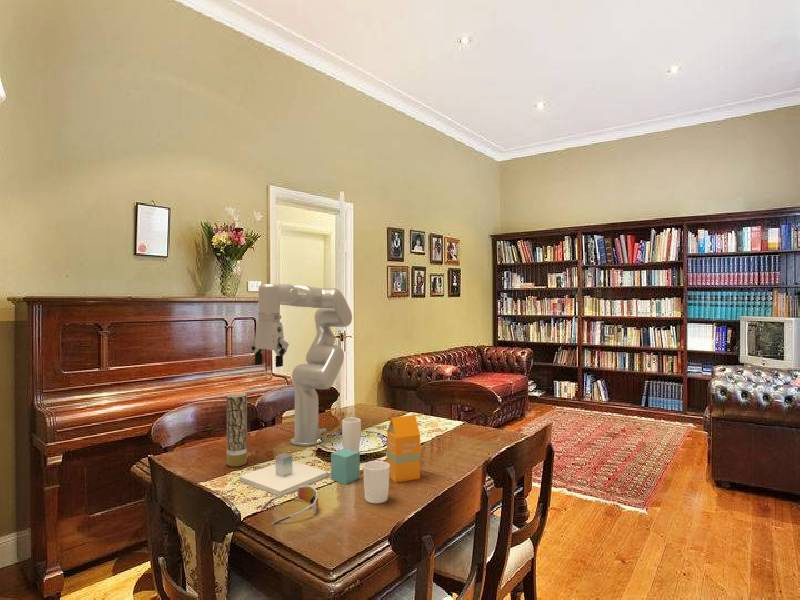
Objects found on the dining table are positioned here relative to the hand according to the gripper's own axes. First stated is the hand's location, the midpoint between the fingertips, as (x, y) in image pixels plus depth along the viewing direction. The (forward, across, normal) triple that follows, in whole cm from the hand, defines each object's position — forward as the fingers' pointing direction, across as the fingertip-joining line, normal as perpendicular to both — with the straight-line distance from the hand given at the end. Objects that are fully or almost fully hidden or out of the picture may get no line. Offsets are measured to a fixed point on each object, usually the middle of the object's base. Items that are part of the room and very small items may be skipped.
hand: (268, 365), depth 177 cm
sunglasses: (+35, -34, +28) cm, 56 cm away
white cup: (+35, -51, +10) cm, 63 cm away
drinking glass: (+34, -27, -14) cm, 46 cm away
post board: (+34, -17, +11) cm, 40 cm away
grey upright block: (+33, -17, +11) cm, 38 cm away
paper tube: (+35, +7, +8) cm, 36 cm away
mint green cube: (+34, -34, +2) cm, 49 cm away
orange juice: (+35, -50, -9) cm, 62 cm away
